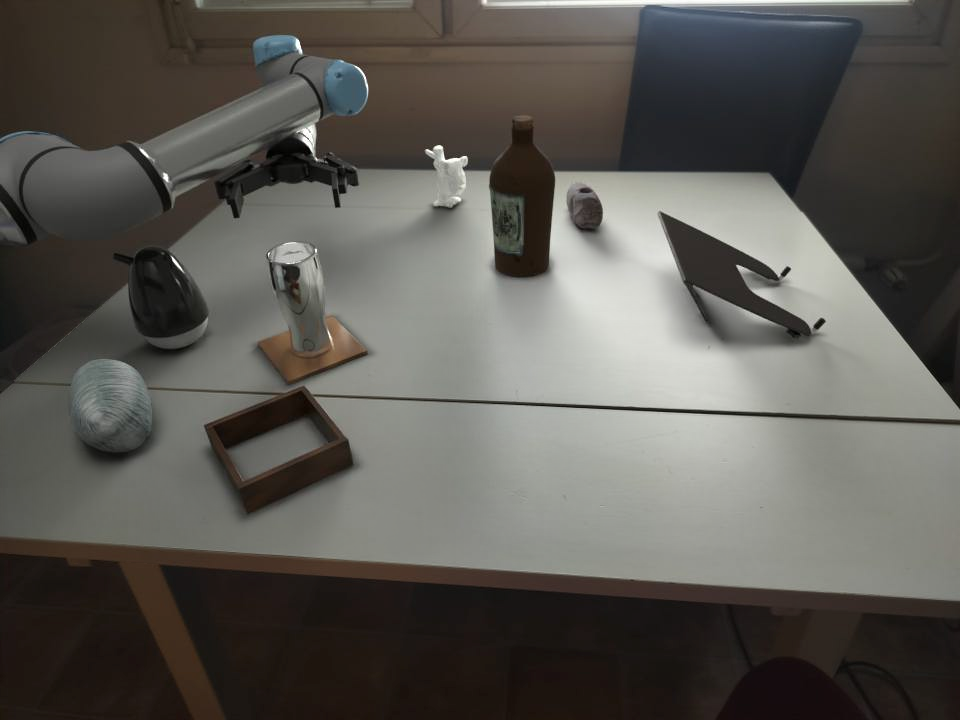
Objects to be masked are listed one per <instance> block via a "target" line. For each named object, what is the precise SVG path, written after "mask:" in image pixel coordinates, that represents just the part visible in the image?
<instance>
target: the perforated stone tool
mask: <svg viewBox="0 0 960 720" xmlns="http://www.w3.org/2000/svg"><path fill="white" fill-rule="evenodd" d="M565 200H566V201H565V203H566V206H567V210H568V212H569V214H570V216H571V218H572V220H573V222H574V223H575V224H576V225H577V226H578V227H579V228H580V229H581V228H582V229H584V230H585V229H596V228H598V227H600V225H601V224H602V222H603V218H604V208H603V205H602V202H601V199H600V198H599V195H598V194H597V193H596V192H595V190H594V189H593V188H592V187H591V186H589V185H587V184H586V183H584V182H582V181H574V182H572V183H571V184H570V185H569V187H568V188H567V191H566V199H565Z"/></svg>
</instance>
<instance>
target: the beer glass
mask: <svg viewBox="0 0 960 720" xmlns="http://www.w3.org/2000/svg"><path fill="white" fill-rule="evenodd" d="M265 259H266V264H267V271H268V276H269V282H270V286H271V290H272V293H273V295H274V298H275V302H276V303H277V306H278V309H279V310H280V312H281V314H282V317H283V319H284V321H285V323H286V326H287V331H289V337H290V350H291V352H292V353H293V354H294V355H296V356H299V357H305V358H308V357H315V356H319V355H321V354H323V353H325V352H327V351H328V350H329V349H330V348H331V346H332V344H333V341H332V337H331V335H330V333H329V330H328V328H327V325H326V319H325V318H326V288H325V287H326V286H325V285H326V284H325V279H324V273H323V269H322V264H321V262H320V258H319V254H318V250H317V247H316V246H315V245H314V244H313V243H311V242H307V241H289V242H284V243H280V244H278V245H275V246H273V247H272V248H270V249H269V250H268V251H267V252H266V253H265Z"/></svg>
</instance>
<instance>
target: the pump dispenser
mask: <svg viewBox="0 0 960 720" xmlns="http://www.w3.org/2000/svg"><path fill="white" fill-rule="evenodd" d="M112 259H113V260H114V261H116V262H119V263H122V264H124V265H127V266H129V270H128V280H127V291H128V292H127V293H128V303H129V308H130V314H131V317H132V321H133V324H134V327H135V330H136V331H137V332H138V334H140V335H142V337H143V338H144V339H145V340H146V342H148V343H149V344H150V345H152V346H155V347H157V348H160V349H165V350H177V349H181V348H185V347H187V346H189V345H190V346H191V345H192V344H193V343H196V342H197V341H198V340H199V339H200V338H202V336H203V334H205V331H206V329H207V326H208V319H209V318H208V317H209V314H210V309H209V306H208V303H207V301H206V299H205V297H204V294H203V292H202V291H201V288H200V287H199V285H198V283H197V281H196V280H195V279H194V276H192V274H191V272H190V271H189V270H188V269H187V268H186V266H185V265H184V264H183V262H182V261H180V259H179V258H178V257H177V256H176V255H175V254H174V253H173V252H171V251H170V250H169V249H167V248H166V247H164V246H161V245H155V244H149V245H145V246H142V247H141V248H138V250H136V252H134V255H128V254H125V253H121V252H117V251H115V252H114V253H113V254H112Z"/></svg>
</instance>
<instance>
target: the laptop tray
mask: <svg viewBox="0 0 960 720" xmlns="http://www.w3.org/2000/svg"><path fill="white" fill-rule="evenodd" d="M657 217H658V220H659V222H660V225H661V228H662V231H663V232H664V235H665V238H666V240H667V243H668V245H669V248H670V251H671V254H672V257H673V259H674V262H675V265H676V268H677V269H678V272H679V276H680V278H681V280H682V284H683V285H684V286H685V287H686V289H687V290H688V292H689V294H690V296H691V298H692V299H693V301H694V302H695V305H696V307H697V308H698V310H699V312H700V314H701V316H702V317H703V320H704V322H705V323H706V322H708V319H707V317H706V315H705V313H704V310H703V309H702V307H701V304H700V301H699V300H698V297H697V293H696V289H695V287H696V288H698V289H699V290H702V291H704V292H707V293H708V294H710V295H713V296H714V297H717V298H718V299H720V300H723V301H726V302H727V303H730V304H731V305H734V306H736V307H738V308H741V309H743V310H745V311H747V312H749V313H751V314H753V315H756V316H758V317H759V318H763V319H764V320H767V321H769V322H772V323H773V324H776V325H779V326H781V327H783V328H785V333H786V334H787V335H789V337H791V338H792V339H794V340H795V339H797V340H798V339H800V338H801V337H802V335H803V336H805V337H810V336H811V335H814V334H815V333H817V331H818V330H820V329H821V328H822V326H824V324H825V323H827V322H826V321H827V320H826V319H825V318H823V317H819V319H818V320H816V322H814V324H813V326H809V324H808V323H807V322H806V321H805V320H804V319H802V318H801V317H800V316H798V315H796V314H795V313H794V314H793V313H792V312H790V311H788V310H786V309H784V308H783V307H781V306H779V305H778V304H775V303H773V302H771V301H769V300H768V299H766V298H764V297H762V296H760V295H758V294H757V293H755V292H754V291H752V290H751V289H750V287H749V286H748V285H747V283H746V282H745V279H744V278H743V275H742V274H741V272H740V270H739V268H738V266H739V267H742V268H744V269H746V270H749V271H750V272H752V273H755V274H757V275H759V276H760V277H763V278H765V279H767V280H769V281H772V282H775V283H777V282H781V281H783V280H784V279H785V278H786V277H787V275H788V274H789V273H790V272H791V271H792V268H791V267H790V266H789V265H787V266H785V267H784V268H783V270H782V271H781V272H780V274H779V275H778V274H777V273H776V272H775V271H774V269H772V268H771V267H770V266H768V265H767V264H766V263H764V262H762V261H761V260H758V259H757V258H755V257H753V256H751V255H750V254H748V253H745V252H744V251H742V250H740V249H737V248H736V247H734V246H732V245H730V244H728V243H726V242H724V241H722V240H720V239H718V238H717V237H714V236H712V235H710V234H708V233H706V232H704V231H702V230H700V229H698V228H696V227H694V226H692V225H691V224H688V223H686V222H684V221H682V220H680V219H677V218H676V217H673V216H671V215H669V214H667V213H665V212H663V211H661V210H659V211H658V212H657Z"/></svg>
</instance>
